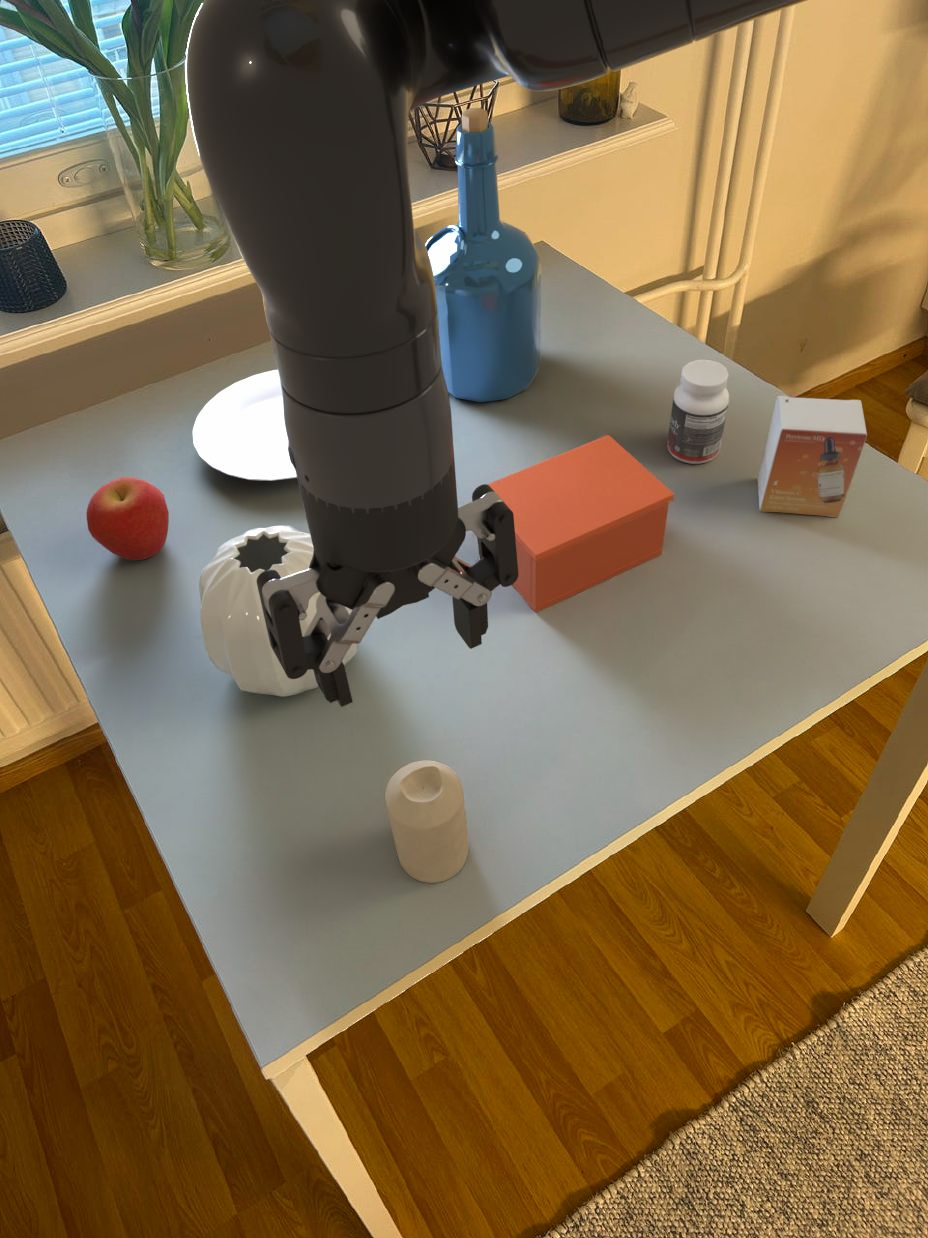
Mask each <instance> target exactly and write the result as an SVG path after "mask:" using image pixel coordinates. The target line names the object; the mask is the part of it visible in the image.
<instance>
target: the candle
mask: <svg viewBox="0 0 928 1238" xmlns="http://www.w3.org/2000/svg"><path fill="white" fill-rule="evenodd" d="M384 797H385V800H384V801H385V804H386V810H387V815H388V819H389V823H390V828H391V832H392V837H393V841H394V845H395V849H396V853H397V857H398V860H399V863H400V865H401V867H402V868H403V870H404V872H405V873H407V875H409V876H410V877H411V878H413V879H415V880H416V881H419V882H423V883H428V884H435V883H436V884H437V883H441V882H445V881H447V880H450V879H451V878H453V877H455V876H456V875H457V874H458V873H459V872H460V871H461V870H462V869H463V867H464V866H465V864H466V862H467V859H468V856H469V849H470V848H469V836H468V824H467V815H466V805H465V797H464V787H463V784H462V780H461V778H460V777H459V775H458V774H457V773H456V772H455V770H454V769H452V767H450V766H448V765H446V764H445V763H443V762H440V761H437V760H427V759H424V760H418V761H413V762H410V763H408V764H406V765H404V766H403V767H401V768H400V769H397V771H396V772H395V773H394V774H393V775H392V776H391V778H390V779H389V781H388V783H387V785H386V789H385V794H384Z"/></svg>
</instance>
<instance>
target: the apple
mask: <svg viewBox="0 0 928 1238" xmlns="http://www.w3.org/2000/svg"><path fill="white" fill-rule="evenodd" d="M86 507H87V508H86V513H85V514H86V524H87V530H88V532H89V534H90V535H91V537H92V538H93V539H94V540H95V541H96V542H97V543H98V544H99V545H100V546H102V547H104V548H105V549H106V550H107V551H109V552H111V553H112V554H113V555H115V556H118V557H119V558H122V559H125V560H128V561H141V560H145V559H150V558H152V557H153V556H155V555H157V554H159V552H160V551H161V550H162V548H163V547H164V546H165V544H166V540H167V537H168V531H169V523H170V522H169V521H170V520H169V519H170V518H169V517H170V516H169V509H168V505H167V501H166V498H165V494H164V493H163V492H162V491H161V490H160V489H159V488H158V487H156V485H154V484H152V483H150V482H149V481H147V480H143V479H140V478H137V477H132V476H131V477H129V476H127V477H126V476H125V477H124V476H123V477H122V476H121V477H119V478H117V479H114V480H111V481H109V482H108V483H105V484H104V485H102V486H101V487H100V488H99V489H98V490H97V491H96V492H95V493H94V494H92V496H91V497H90V499H89V502H88V504H87V506H86Z"/></svg>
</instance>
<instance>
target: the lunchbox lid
mask: <svg viewBox="0 0 928 1238" xmlns="http://www.w3.org/2000/svg"><path fill="white" fill-rule="evenodd" d="M487 485H489V486H490V487H491V488H492V489H493V490H494V491H495V492H496V493H497V494H498V496H499V497H500V498H501V499H502V500H503V501H504V502H505V504H506V505H507V506H508V507H509V508H510V509H511V511H512V512H513V515H514V527H515V538H516V539H517V540H518V542H519V543H520V544H521V545H522V546H523V547H524V548H525V549H526V551H527V552H528V553H529V554H530V555H531V556H532V557H533V559H534V560H535V561H538V560H540V559H542V558H545V557H547V556H549V555H551V554H554V553H556V552H558V551H560V550H562V549H565V548H567V547H569V546H571V545H574V544H576V543H578V542H580V541H583V540H585V539H587V538H589V537H592V536H594V535H596V534H598V533H601V532H603V531H605V530H607V529H610V528H612V527H614V526H616V525H619V524H621V523H623V522H625V521H628V520H630V519H632V518H634V517H637V516H639V515H641V514H643V513H646V512H648V511H650V510H652V509H655V508H657V507H659V506H661V505H664V504H666V503H670V502H673V501H674V499H675V493H674V492H673V491H672V490H671V489H669V488H668V487H667V486H666V485H665V484H664V483H663V482H661V480H660V479H658V477H656V476H655V475H654V474H653V473H652V472H650V470H648V469H647V468H646V467H645V466H644V465H643V464H642V463H641V462H639V460H637V459H636V458H635V457H634V456H633V455H632V454H631V453H629V452H628V451H627V450H626V449H625V448H624V447H623V446H622V445H621V444H619V442H617V441H616V440H615V439H614V438H613V437H612V436H611V435H609V434H607V435H604V436H601V437H599V438H597V439H594V440H592V441H590V442H587V443H585V444H582V445H580V446H578V447H575V448H572V449H570V450H568V451H565V452H563V453H559V454H558V455H556V456H553V457H551V458H548V459H545V460H543V461H541V462H539V463H535V464H534V465H531V466H529V467H527V468H526V467H525V468H524V469H521V470H518V471H516V472H514V473H512V474H509V475H507V476H504V477H501V478H499V479H497V480H494V481H493V482H492V481H491V482H490V483H487Z"/></svg>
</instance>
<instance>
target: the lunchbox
mask: <svg viewBox="0 0 928 1238" xmlns="http://www.w3.org/2000/svg"><path fill="white" fill-rule="evenodd" d="M669 504H670V502H668V503H666V504H664V505H661V506H659V507H657V508H655V509H652V510H650V511H648V512H646V513H643V514H641V515H639V516H637V517H634V518H632V519H630V520H628V521H625V522H623V523H621V524H619V525H616V526H614V527H612V528H610V529H607V530H605V531H603V532H601V533H598V534H596V535H594V536H592V537H589V538H587V539H585V540H583V541H580V542H578V543H576V544H574V545H571V546H569V547H567V548H565V549H562V550H560V551H558V552H556V553H554V554H551V555H549V556H547V557H545V558H542V559H540V560H538V561H535V560H534V559H533V557H532V556H531V555H530V554H529V553H528V552H527V551H526V549H525V548H524V547H523V546H522V545H521V544H520V543H519V542H518V540H517V539H516V538H515V539H516V551H517V562H518V574H519V575H518V579H517V580H516V582H515V583H514V584H512V585H511V586H512V587H514V589H515V590H516V591H517V593H518V594H519V595H520V596H521V597H522V598H523V599H524V601H525V602H526V603H527V605H529V607H530V608H531V609H532V610H533V612H534V613H539V612H540V611H543V610H545V609H548V608H549V607H551V606H554V605H555V604H558V603H561V602H562V601H564V600H566V599H569V598H570V597H573V596H575V595H577V594H580V593H582V592H584V591H586V590H588V589H590V588H593V587H594V586H597V585H598V584H601V583H603V582H605V581H607V580H610V579H611V578H614V577H616V576H618V575H620V574H622V573H625V572H627V571H629V570H631V569H633V568H636V567H638V566H640V565H642V564H644V563H646V562H648V561H650V560H653V559H655V558H657V557H659V556H661V555H662V554H663V547H664V546H663V545H664V540H665V532H666V526H667V525H666V524H667V518H668V511H669Z"/></svg>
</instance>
